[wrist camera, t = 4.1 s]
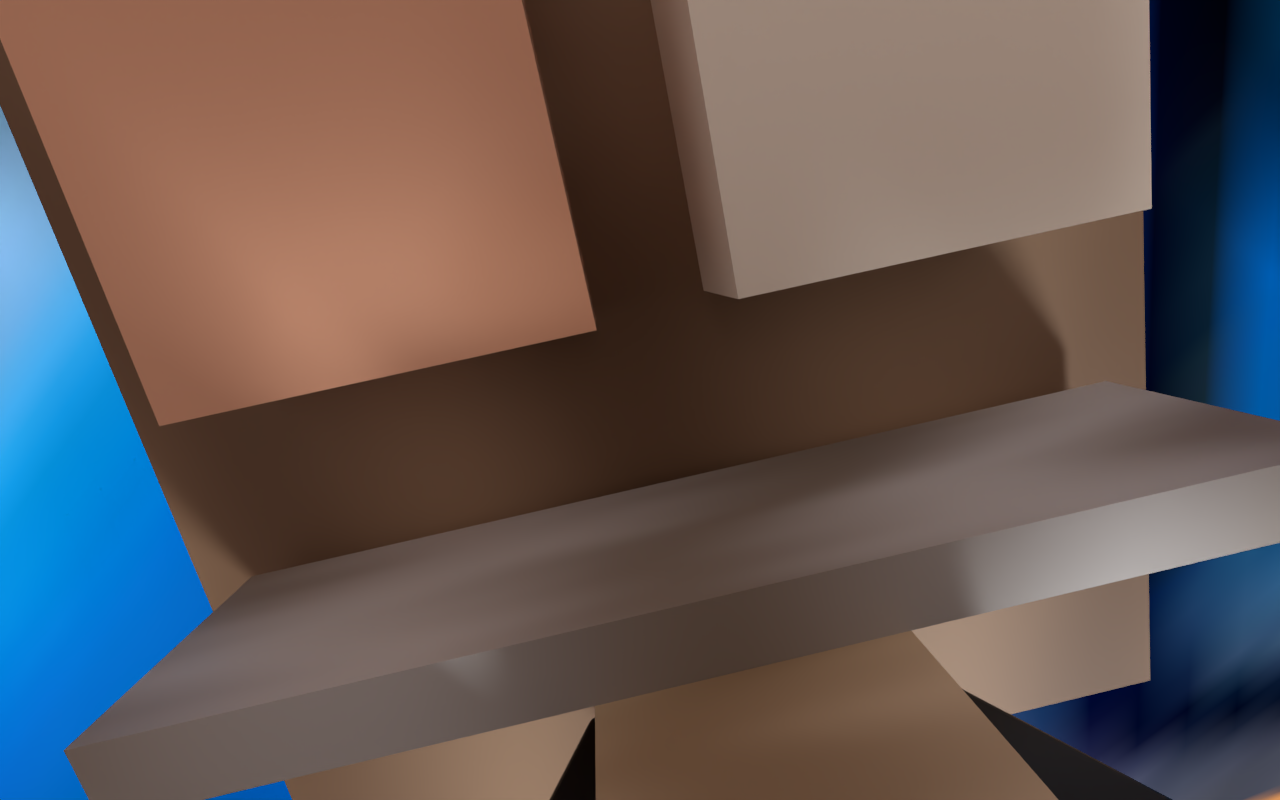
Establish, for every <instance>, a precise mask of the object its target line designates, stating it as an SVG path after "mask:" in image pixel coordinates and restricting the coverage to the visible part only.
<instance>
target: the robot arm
mask: <svg viewBox="0 0 1280 800" xmlns="http://www.w3.org/2000/svg"><path fill="white" fill-rule="evenodd" d="M963 691H964V692H965V693H966V694H967V695H968V696H969V697H970V699H971V700H972V701H973V702H974V703H975V704H976V706H977V707H978V708H979V709H980V710H981V711H982V712H983V714H984V715H985V716H986V717H987V718H988V719H989V720H990V722H991V723H992V724H993V725H994V726H995V727H996V729H997V730H998V731H999V732H1000V733H1001V734H1002V735H1003V737H1004V738H1005V739H1006V740H1007V741H1008V742H1009V743H1010V745H1011V746H1012V747H1013V748H1014V749H1015V750H1016V751H1017V753H1018V754H1019V755H1020V756H1021V757H1022V758H1023V760H1024V761H1025V762H1026V763H1027V764H1028V765H1029V766H1030V768H1031V769H1032V770H1033V771H1034V772H1035V773H1036V774H1037V776H1038V777H1039V778H1040V779H1041V780H1042V781H1043V782H1044V784H1045V785H1046V786H1047V787H1048V788H1049V789H1050V791H1051V792H1052V793H1053V794H1054V795H1055V796H1056V797H1057V799H1058V800H1172V799H1170V798H1168V797H1166V796H1164V795H1162V794H1160V793H1159V792H1157V791H1155V790H1153V789H1151V788H1149V787H1147V786H1145V785H1143V784H1142V783H1140V782H1138V781H1136V780H1134V779H1132V778H1130V777H1128V776H1126V775H1124V774H1123V773H1121V772H1119V771H1117V770H1115V769H1113V768H1111V767H1109V766H1107V765H1106V764H1104V763H1102V762H1100V761H1098V760H1096V759H1094V758H1092V757H1090V756H1088V755H1087V754H1085V753H1083V752H1081V751H1079V750H1077V749H1075V748H1073V747H1071V746H1070V745H1068V744H1066V743H1064V742H1062V741H1060V740H1058V739H1056V738H1054V737H1052V736H1051V735H1049V734H1047V733H1045V732H1043V731H1041V730H1039V729H1037V728H1035V727H1034V726H1032V725H1030V724H1028V723H1026V722H1024V721H1022V720H1020V719H1018V718H1016V717H1015V716H1013V715H1011V714H1009V713H1007V712H1005V711H1003V710H1001V709H999V708H998V707H996V706H994V705H992V704H990V703H988V702H986V701H984V700H982V699H981V698H979V697H977V696H975V695H973V694H971V693H969V692H967V691H965V690H963ZM549 800H596V767H595V718H593V719H592V720H591V721H590V722H589V724H588V726H587V728H586V730H585V732H584V733H583V735H582V737H581V739H580V741H579V743H578V745H577V747H576V749H575V751H574V753H573V755H572V757H571V759H570V761H569V763H568V764H567V766H566V768H565V770H564V772H563V774H562V776H561V778H560V780H559V782H558V784H557V786H556V788H555V790H554V792H553V794H552V795H551V797H550V799H549Z"/></svg>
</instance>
